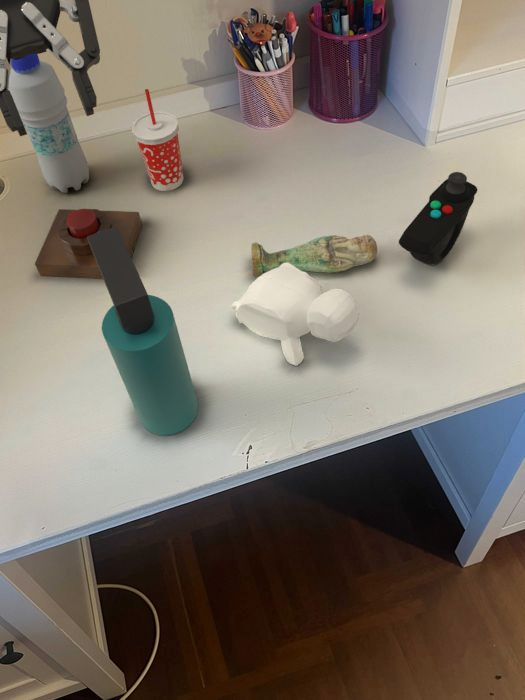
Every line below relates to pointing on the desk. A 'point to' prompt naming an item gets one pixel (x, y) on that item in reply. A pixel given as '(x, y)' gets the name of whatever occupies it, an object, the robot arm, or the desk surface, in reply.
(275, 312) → the penguin
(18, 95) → the bottle
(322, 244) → the figurine
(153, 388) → the spray bottle
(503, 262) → the desk surface
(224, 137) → the desk surface
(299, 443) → the desk surface
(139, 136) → the beverage cup
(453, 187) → the controller
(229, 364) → the desk surface
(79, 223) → the button
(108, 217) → the button box
